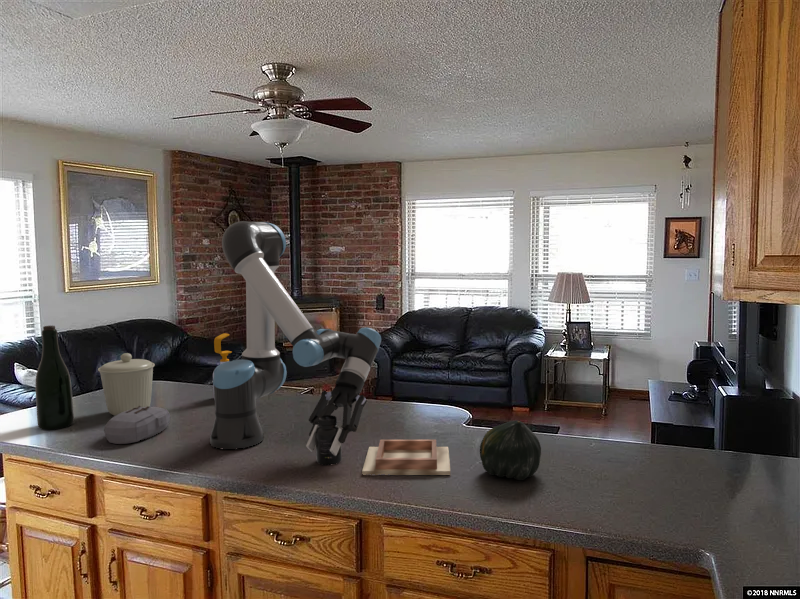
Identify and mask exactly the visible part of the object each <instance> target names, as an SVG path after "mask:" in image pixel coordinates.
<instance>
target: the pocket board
mask: <svg viewBox="0 0 800 599" xmlns="http://www.w3.org/2000/svg"><path fill="white" fill-rule="evenodd" d="M362 467H363V468H362V469H361V470H362V471H361V473H362V474H363V475H366V474H367V475H368V474H371V475H372V474H375V475H378V474H380V475H381V474H385V475H388V474H390V475H450V476H451V461H450V452H449V446H437V439H379V444H378V446H369V447H368V450H367V453H366V457H365V460H364V464H363V466H362Z"/></svg>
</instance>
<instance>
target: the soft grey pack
mask: <svg viewBox="0 0 800 599" xmlns="http://www.w3.org/2000/svg"><path fill="white" fill-rule="evenodd" d="M170 423H171V414H170V412H169V410H168V409H167V408H164V407H157V406H150V407H148V406H147V407H141V406H138V407H137V408H133V409H132V410H127V411H125V412H122V413H120V414H118V415H116V416H114V415H113V416H112V418H110V419H109V420H108V421H107V422H106V423H105V426H104V428H103V432H104V435H105V437H106V441H108V443H110V444H114V445H115V444H116V445H117V444H118V445H122V444H125V445H126V444H131V443H137V442H141V441H145V440H148V439H150V438H153V437H154V435H155V436H157V435H159V434H161V433H162V432H163V431H164V430H166V429H167V428H169V425H170ZM161 431H162V432H161ZM158 433H159V434H158ZM156 434H157V435H156ZM152 436H153V437H152ZM149 437H150V438H149ZM147 438H148V439H147ZM144 439H145V440H144ZM140 440H141V441H140Z"/></svg>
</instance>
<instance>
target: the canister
mask: <svg viewBox="0 0 800 599" xmlns="http://www.w3.org/2000/svg"><path fill="white" fill-rule="evenodd" d="M155 366H156V365H155V363H154V362H152V361H150V360H149V359H148V360H147V359H144V358H143V359H142V358H133V356H132V354H131V353H130V352H129V353H128V352H126V353H125V352H124V353H123V354H121V355H120V360H115V361H109V362H106V363H105V364H102V366H100V367H98V369H97V371H98V372H99V373H100V378H101V384H102V391H103V395H104V399H105V403H106V409H107V411H108V412H109V414H110V415H112V416H113V417H114V416H116V415H118V414H120V413H122V412H125V411H127V410H132V409H133V408H137V407H138V406H141V407H147V406H148V407H151V402H152V391H153V389H152V388H153V374H154V372H153V371H154V367H155Z"/></svg>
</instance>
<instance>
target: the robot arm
mask: <svg viewBox="0 0 800 599" xmlns="http://www.w3.org/2000/svg"><path fill="white" fill-rule="evenodd" d="M285 236H286V235H285V234H284V232H283V231H282V229H280V227H279V226H278V225H276V224H274V223H270V222H267V221H245V220H243V221H242V220H241V221H240V220H239V221H235V222H234V223H232V224H230V225H229V226H228V227H226V229H225V231H224V233H223V234H222V238H221V246H222V247H221V248H222V252H223V254H224V257H225V259H226V261H227V262H228V264H229V266H230V267H231V268H232V270H233V271H234V273H236V274H239V275H241V276H242V277H243V279H244V280H245V291H246V293H245V296H246V298H245V300H246V301H245V302H246V304H245V305H246V306H245V307H246V309H245V311H246V313H245V314H246V317H245V320H246V348H245V349H244V350H243V352H241V359H233V360H229V361H228V362H225V363H222V364H220V363H219V364H218V365H217V366H216V367H215V368H214V370H213V372H214V379H213V378H212V385H213V384H214V390H213V399H214V413H215V414H214V415H215V416H214V422H213V426H212V428H211V431H210V432H211V433H210V437H209V439H210V440H209V442H210V444H211V445H210V446H211V447H212V446H213V447H212V448H214V447H216V448H215V449H217V448H223V449H235V450H237V449H236V448H243V449H246V448H245V447H248V448H250V447H249V446H252V447H254V446H253V445H255V446H257V445H259V444H261V443H262V442H263V441H264V431H263V428H262V426H261V424H260V420H259V418H258V415H257V402H256V400H259V399H261V398H262V397H265V396H268V395H271V394H273V393H275V392H276V391H278V390H279V389H280V388H282V386H283V385H284V384H285V381H286V380H287V379H286V378H287V375H288V374H287V373H288V372H287V366H286V364H285V363H284V362H283V360H282V358H281V352H280V351H279V350H278V349H277V348H276V343H275V342H276V335H275V334H276V332H275V331H276V328H275V327H276V325H277V326H278V327H279V328H280V330H281V331H282V333H283V334H284V335H285V337H286V338H287V339H288V340H289V342H290V344H291V345H292V347H293V348H292V357H293V360H294V361H295V363H296V364H297V365H299V366H301V367H303V368H308V367H312V366H316V365H319V364H321V363H323V362H325V361H327V360H330V359H332V358H340V359H345V360H344V363H343V365H342V367H341V369H340V373H339V375H338V376H337V378H336V381H335V384H334V385H335V386H334V388H333V389H332V390H331V391H326V390H322V392H321V395H320V398H319V401H318V402H317V404H316V405H315V408H314V409H313V411H312V413H311V414H310V416H309V417H308V422H309V423H311V425H312V426H311V429H310V430H309V434H308V436H309V438H308V440H307V443H306V444H305V447H306V448H307V449H308V450H309V452H313V451H314V450H315V448H316V439H315V431H316V429H317V428H318V427H320V426H319V425H318V423H319V417H321V416H326V415H332V414H333V413H334V412H335V411H336V410H338V409H339V408H342V425H341V426H340V427H339V429H338V432H337V434H336V436H335V439H334V441H333V444H332V446H331V448H330V451H331V453H332V454H333V455H335V456H336V455H337V453H338V451H339V448H340V446H341V447H342V444H344V443H345V442H346V439H347V436H348V434H349V433H351V432H353V433H356V432H357V430H358V426H359V422H360V419H361V416H362V413H363V410H364V407H365V406H366V404H367V402H368V400H367V399H366V397H365V396H364V395H363V394H362V395H360V394H361V393H362V390H363V388H364V385H365V382H366V381H367V379H368V378H367V377H368V375H369V373H370V371H371V368H372V366H373V363H374V361H375V359H376V356H377V354H378V353H379V350H380V347H381V346H380V345H381V344H382V343H381V342H382V336H381V334H380V333H379V332H378V331H377V330H375V329H374V328H371V327H361V328H359V330H358V331H357V332H356V334H355V333H348V332H343V331H338V330H333V329H330V328H329V329H327V328H326V329H325V328H319V329H317V330H315V328H314V327H313V325H312V324H311V323H310V322H309V320H308V319H307V317H306V316H305V314H304V313H303V311H301V309H300V308H299V306H298V305H297V304H296V302H295V301H294V300H293V298H292V296H290V294H289V293H288V291H287V290H286V289H285V287H284V285H283V284H282V283H281V281H280V280H279V279H278V277H277V276H276V274H275V272H276V270H277V269H278V268H279V267H280V257H282V255H283V254H284V253H285V251H286V248H287V241H286V240H287V239H286V237H285ZM354 403H355V405H354V407H353V404H354ZM262 440H263V441H262ZM261 441H262V442H261ZM260 442H261V443H260ZM258 443H259V444H258ZM256 444H257V445H256ZM223 449H222V450H223Z"/></svg>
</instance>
